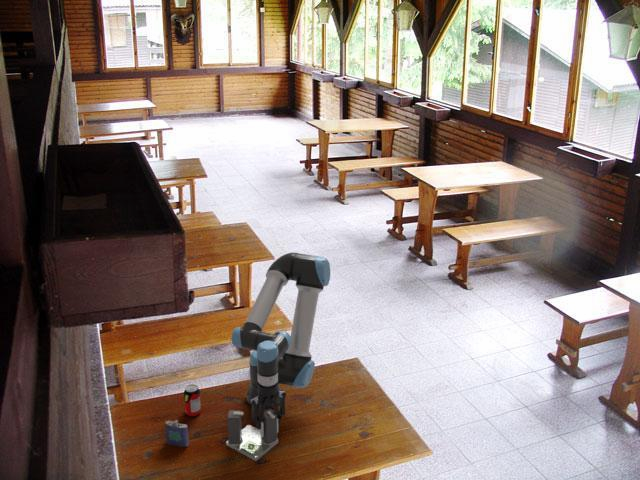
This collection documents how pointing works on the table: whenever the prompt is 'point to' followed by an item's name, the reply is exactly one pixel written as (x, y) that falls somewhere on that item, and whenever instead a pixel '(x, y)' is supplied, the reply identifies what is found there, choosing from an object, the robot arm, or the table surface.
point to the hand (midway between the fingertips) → (268, 432)
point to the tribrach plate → (252, 443)
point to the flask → (176, 434)
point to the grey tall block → (269, 426)
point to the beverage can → (192, 400)
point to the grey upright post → (234, 427)
